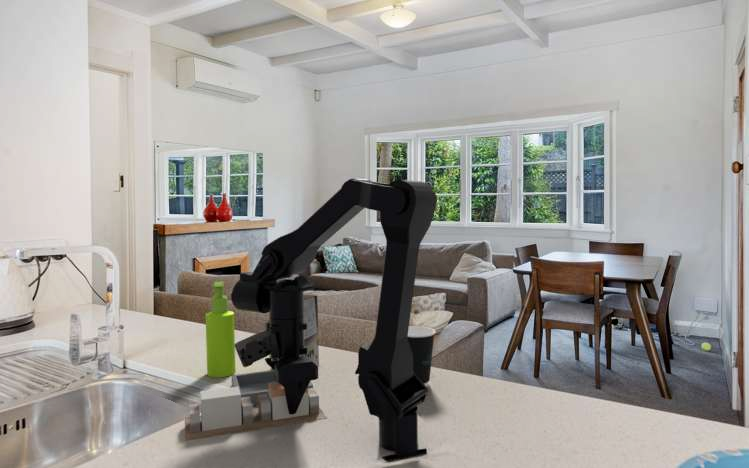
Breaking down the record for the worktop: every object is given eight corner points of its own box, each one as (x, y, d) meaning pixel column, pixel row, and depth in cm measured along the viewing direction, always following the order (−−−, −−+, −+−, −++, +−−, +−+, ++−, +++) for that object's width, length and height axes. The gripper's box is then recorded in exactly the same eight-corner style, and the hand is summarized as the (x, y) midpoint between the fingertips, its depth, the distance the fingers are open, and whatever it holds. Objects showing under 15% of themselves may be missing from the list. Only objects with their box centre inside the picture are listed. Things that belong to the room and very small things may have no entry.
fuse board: (327, 424, 86) (326, 400, 86) (185, 446, 78) (184, 421, 78) (314, 404, 94) (313, 382, 94) (185, 423, 87) (184, 400, 86)
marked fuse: (308, 414, 87) (308, 385, 87) (272, 420, 85) (272, 390, 85) (303, 406, 91) (303, 378, 91) (269, 411, 89) (268, 382, 89)
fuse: (241, 424, 83) (240, 394, 83) (202, 431, 81) (201, 399, 81) (239, 415, 87) (238, 386, 87) (201, 421, 85) (200, 391, 85)
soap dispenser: (206, 380, 108) (203, 285, 107) (207, 370, 115) (205, 280, 114) (235, 377, 110) (233, 283, 109) (235, 367, 116) (233, 279, 115)
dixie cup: (438, 391, 100) (438, 335, 100) (397, 392, 100) (396, 335, 99) (433, 377, 108) (432, 325, 108) (395, 378, 108) (394, 326, 107)
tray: (313, 401, 96) (313, 385, 96) (237, 412, 91) (237, 395, 91) (300, 381, 107) (299, 366, 107) (231, 390, 102) (231, 375, 102)
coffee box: (320, 365, 118) (319, 295, 117) (304, 373, 112) (302, 299, 111) (287, 360, 122) (286, 292, 121) (270, 367, 116) (268, 296, 115)
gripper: (232, 309, 93) (234, 395, 94) (243, 333, 76) (246, 437, 77) (293, 304, 97) (295, 386, 98) (318, 326, 79) (320, 426, 80)
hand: (288, 407), depth 88 cm, fingers open, 6 cm apart
